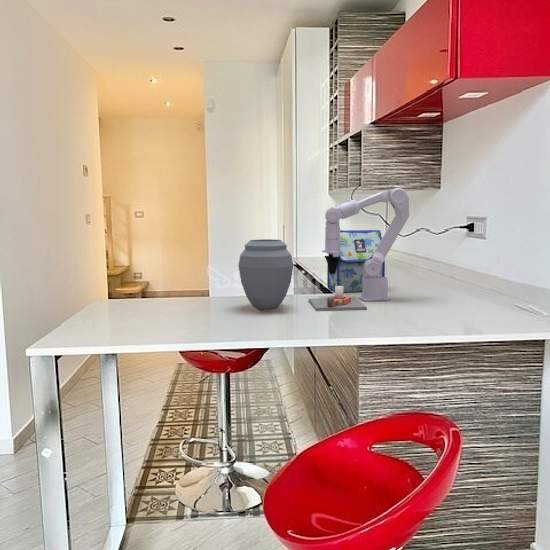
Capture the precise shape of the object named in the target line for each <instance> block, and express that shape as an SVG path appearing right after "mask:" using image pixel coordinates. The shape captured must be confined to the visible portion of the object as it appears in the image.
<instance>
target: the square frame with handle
mask: <svg viewBox="0 0 550 550" xmlns="http://www.w3.org/2000/svg"><path fill="white" fill-rule="evenodd" d="M351 298H352V296H344V295H343V299H335V295H332V296H330V297H328V296H327V306H328V307H334V306H336V305H337V300H342V304H347V303H349V302H351Z"/></svg>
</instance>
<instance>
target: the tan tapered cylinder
mask: <svg viewBox="0 0 550 550" xmlns="http://www.w3.org/2000/svg"><path fill="white" fill-rule="evenodd" d="M337 306H342V300H337Z"/></svg>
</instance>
